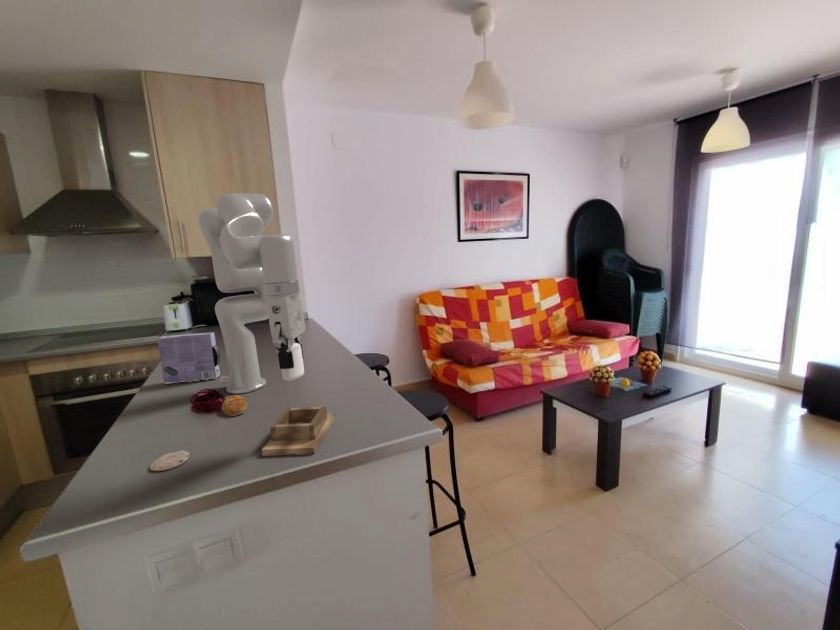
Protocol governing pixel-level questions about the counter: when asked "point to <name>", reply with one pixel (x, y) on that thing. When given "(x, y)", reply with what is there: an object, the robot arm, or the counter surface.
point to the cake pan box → (189, 357)
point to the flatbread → (169, 461)
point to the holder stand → (298, 431)
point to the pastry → (234, 405)
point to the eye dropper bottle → (298, 362)
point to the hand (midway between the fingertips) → (292, 363)
